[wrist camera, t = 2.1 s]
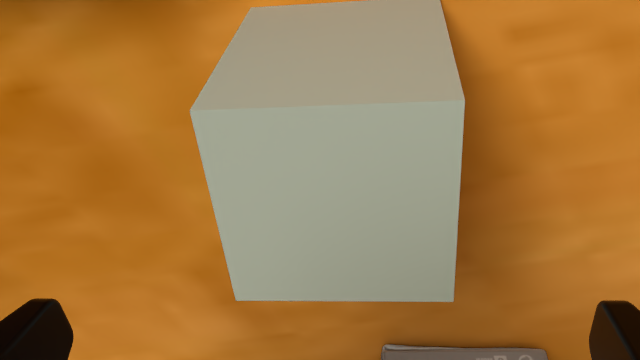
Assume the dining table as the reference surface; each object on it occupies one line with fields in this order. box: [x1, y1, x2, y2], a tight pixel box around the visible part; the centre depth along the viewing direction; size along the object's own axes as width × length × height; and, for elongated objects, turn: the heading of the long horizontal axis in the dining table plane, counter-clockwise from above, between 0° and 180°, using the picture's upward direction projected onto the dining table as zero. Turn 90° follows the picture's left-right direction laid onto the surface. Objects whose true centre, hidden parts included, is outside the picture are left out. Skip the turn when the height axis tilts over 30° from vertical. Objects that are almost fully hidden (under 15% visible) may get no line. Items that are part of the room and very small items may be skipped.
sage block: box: [190, 0, 465, 302], centre depth 14 cm, size 5×5×6 cm
